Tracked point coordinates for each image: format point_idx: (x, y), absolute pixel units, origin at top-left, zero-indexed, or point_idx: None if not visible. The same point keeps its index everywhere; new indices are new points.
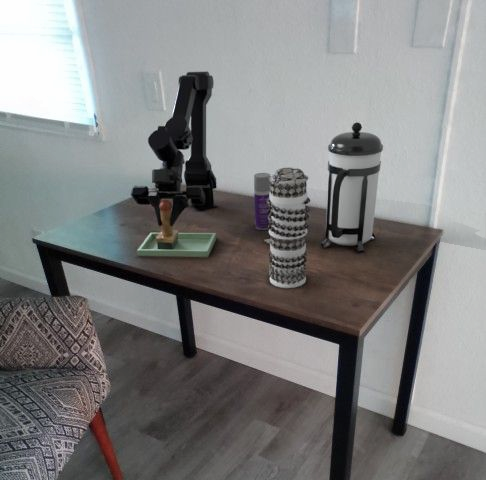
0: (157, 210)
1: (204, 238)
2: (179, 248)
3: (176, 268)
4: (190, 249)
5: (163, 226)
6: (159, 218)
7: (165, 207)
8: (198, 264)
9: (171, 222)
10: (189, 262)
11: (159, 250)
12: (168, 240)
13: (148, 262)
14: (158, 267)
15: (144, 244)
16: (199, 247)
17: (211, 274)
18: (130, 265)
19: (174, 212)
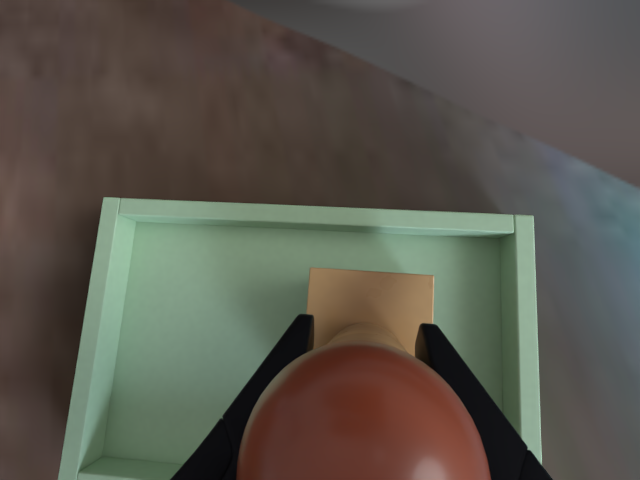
0: (505, 467)
1: (152, 463)
2: (291, 318)
3: (273, 106)
4: (224, 301)
5: (384, 332)
6: (438, 368)
7: (331, 347)
8: (174, 148)
9: (295, 326)
10: (220, 169)
11: (386, 209)
12: (338, 269)
13: (433, 168)
14: (365, 114)
15: (516, 309)
16: (176, 327)
17: (110, 54)
18: (521, 133)
19: (237, 416)
